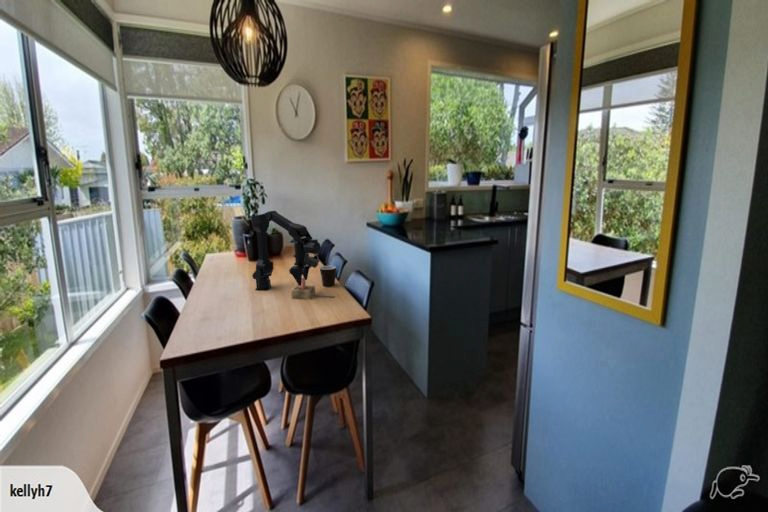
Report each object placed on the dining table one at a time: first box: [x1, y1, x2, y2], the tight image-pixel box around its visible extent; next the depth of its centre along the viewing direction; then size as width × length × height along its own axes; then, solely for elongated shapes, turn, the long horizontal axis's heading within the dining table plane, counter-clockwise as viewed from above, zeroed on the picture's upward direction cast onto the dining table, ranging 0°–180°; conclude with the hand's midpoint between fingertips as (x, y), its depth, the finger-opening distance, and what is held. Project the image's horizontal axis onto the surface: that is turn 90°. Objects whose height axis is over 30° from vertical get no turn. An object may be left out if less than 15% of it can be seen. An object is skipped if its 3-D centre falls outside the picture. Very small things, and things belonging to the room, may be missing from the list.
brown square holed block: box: [291, 284, 316, 300], centre depth 184 cm, size 9×9×4 cm
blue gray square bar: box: [312, 294, 336, 299], centre depth 183 cm, size 11×1×1 cm, turn 76°
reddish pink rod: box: [301, 277, 307, 290], centre depth 184 cm, size 2×2×9 cm
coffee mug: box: [319, 265, 337, 288], centre depth 201 cm, size 12×9×10 cm
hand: (303, 282), depth 183 cm, fingers open, 9 cm apart
